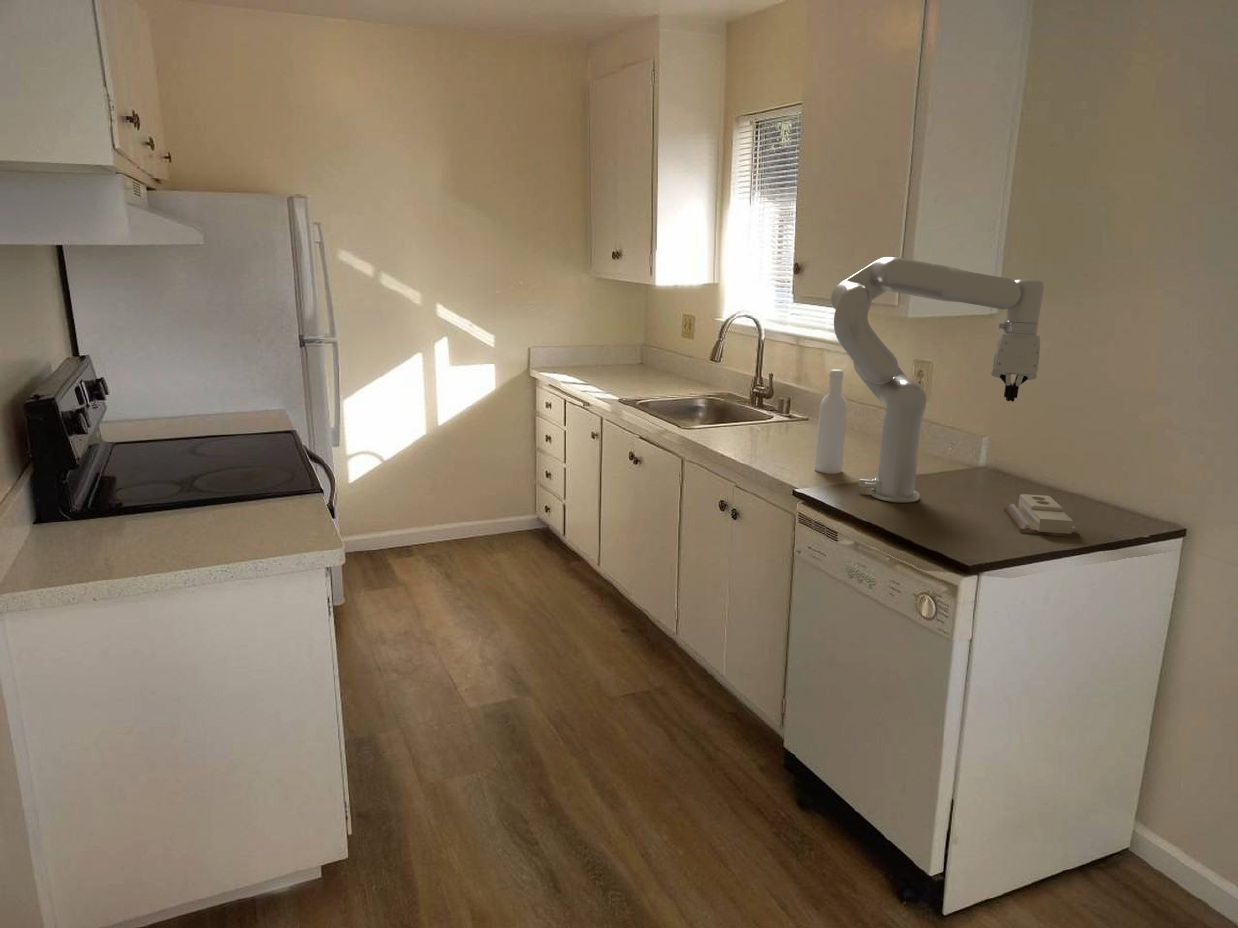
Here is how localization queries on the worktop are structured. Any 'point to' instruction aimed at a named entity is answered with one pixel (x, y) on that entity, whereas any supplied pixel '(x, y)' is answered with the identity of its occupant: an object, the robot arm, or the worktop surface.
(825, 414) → the bottle
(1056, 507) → the electrical outlet
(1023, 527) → the rail board
